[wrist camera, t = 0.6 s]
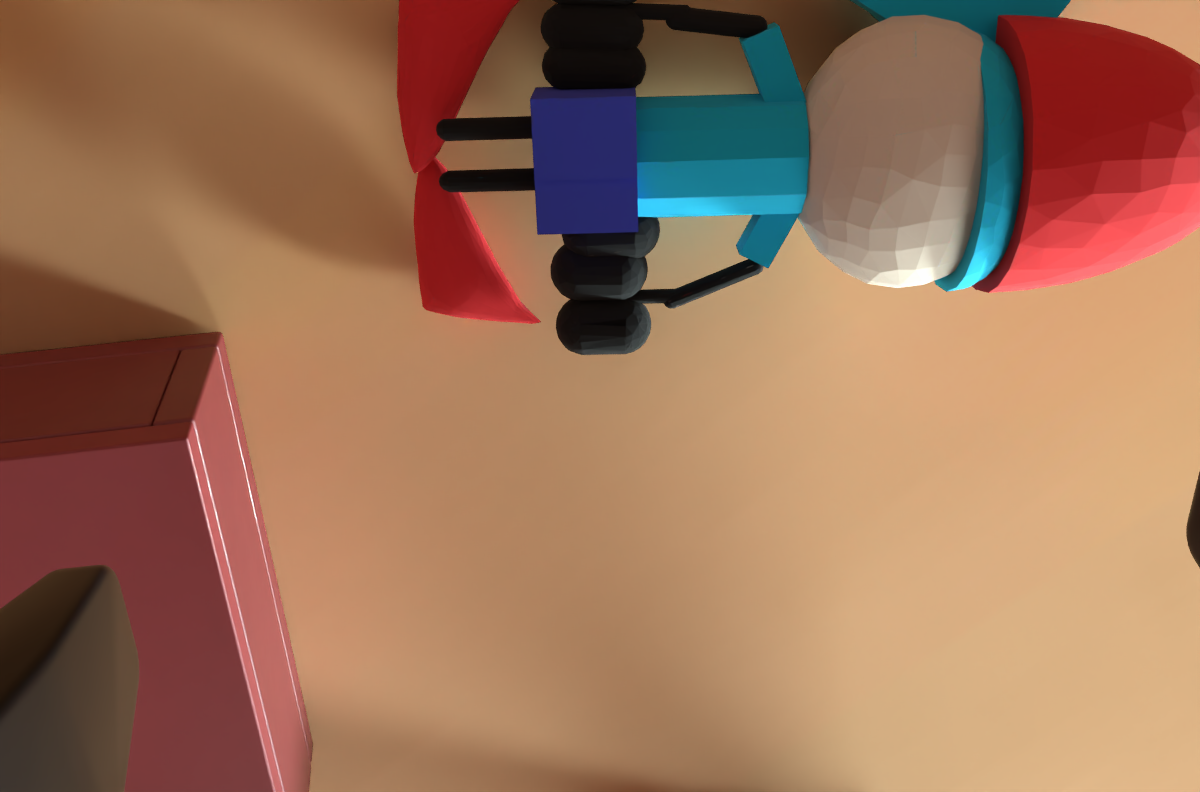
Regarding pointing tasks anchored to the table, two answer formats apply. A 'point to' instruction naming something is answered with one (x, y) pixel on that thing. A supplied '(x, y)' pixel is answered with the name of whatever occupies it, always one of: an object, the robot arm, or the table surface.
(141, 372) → the dark red shallow box
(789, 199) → the toy figure
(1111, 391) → the table surface
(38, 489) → the cover
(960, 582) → the table surface
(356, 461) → the table surface
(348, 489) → the table surface
